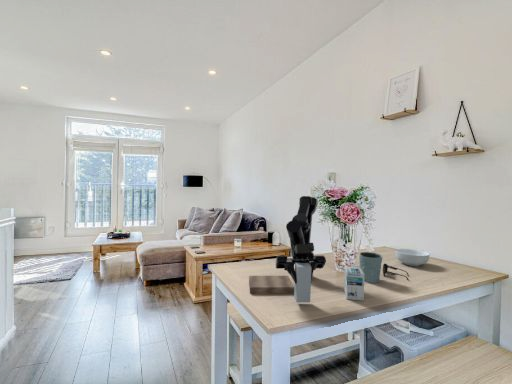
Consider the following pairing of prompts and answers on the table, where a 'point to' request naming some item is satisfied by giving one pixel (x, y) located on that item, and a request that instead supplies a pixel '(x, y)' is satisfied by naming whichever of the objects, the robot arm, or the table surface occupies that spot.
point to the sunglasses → (385, 268)
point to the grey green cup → (370, 266)
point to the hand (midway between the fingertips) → (303, 283)
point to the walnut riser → (270, 284)
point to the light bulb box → (354, 282)
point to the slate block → (302, 282)
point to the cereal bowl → (412, 256)
